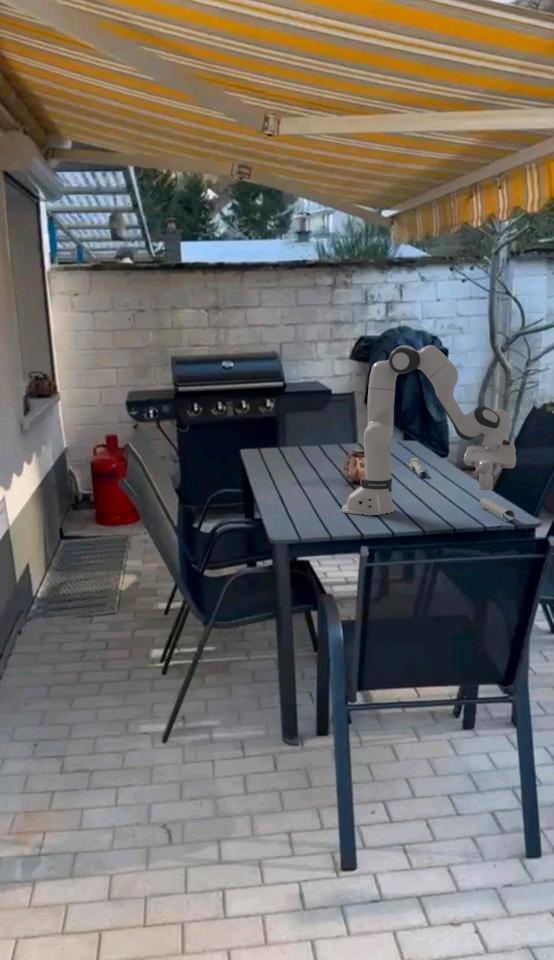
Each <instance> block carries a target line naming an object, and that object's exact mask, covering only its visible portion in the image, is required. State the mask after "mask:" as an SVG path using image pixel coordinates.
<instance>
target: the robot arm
mask: <svg viewBox="0 0 554 960" xmlns="http://www.w3.org/2000/svg"><path fill="white" fill-rule="evenodd" d="M414 370H419V371H421V372H422V373H423V374H424V375H425V376H426V377H427V379H428V381H430V383H431V384H432V386H433V388H434V393H435V394H434V395H435V396H436V397H435V398H436V399H437V401H438V403H439V405H440V406H441V407H442V409H443V411H444V413H445V414H446V416H447V417H448V419H449V420H450V422H451V423H452V426H453V428H454V430H455V433H456V434H457V436H458V437H459V438H460V439H462V440H463V441H464V440H465V441H473V440H474V439H476V437H478V436H480V434H483V440H482V442H481V443H482V444H471V445H469V446H467V447H466V450H465V453H464V457H463V463H464V464H465V465H466V466H470V467H471V466H472V467H475V476H476V475H478V476H479V472H478V470H477V467H478V465H479V461H482V460H485V461H493V468H495V469H493V471H492V476H493V477H497V474H498V473H499V472H500V471H501V470H502V469H514V468H515V467H516V464H517V463H516V462H517V455H516V453H517V450H516V446H515V444H514V442H513V441H511V440H507V436H508V435H509V431H510V427H511V416H510V414H509V413H508V412H507V411H505V410H504V409H501V408H500V409H499V408H495V409H492V408H489V407H487V406H485V405H480V406H477V407H475V408H474V409H472V410H471V411H470V412H468V413H467V414H465V413H464V412H463V411H462V409H461V408H460V406H459V404H458V403H457V401H456V400H455V396H454V391H455V389H456V385H457V384H458V380H459V372H458V370H457V368H456V366H455V365H454V364H453V363H452V362H451V361H450V359H449V358H448V357H447V356H446V355H445V354H444V352H442V351H441V350H440V349H439V348H438V347H436V346H435V345H433V344H429V345H426V346H424V347H422V348H420V349H419V350H417V349H416V348H415V347H414V346H412V345H410V344H403V345H399V346H397V347H395V348H394V349H393V350H392V351H391V353H390V354H389V357H388V359H386V360H379V361H376V362H374V364H373V365H372V367H371V371H370V373H369V381H368V391H367V392H368V393H367V403H366V406H367V408H366V409H367V426H366V428H365V429H364V432H363V449H364V450H363V452H364V453H363V454H364V476H361V477H360V482H359V484H360V485H359V487H358V488H356V489H355V490H353V491H352V492H351V493H350V494H349V495H348V497H347V500H346V503H344V505H342V507H341V512H343V514H355V515H362V514H364V516H372V515H378V516H381V515H386V513H388V514H392V513H394V512H395V508H394V504H393V496H392V491H393V478H392V453H391V439H392V437H393V434H394V419H395V417H394V416H395V415H394V414H395V413H394V412H395V411H394V410H395V408H394V407H395V394H396V381H397V377H398V375H403V374H408V373H410V372H412V371H414ZM391 512H392V513H391ZM380 514H381V515H380Z"/></svg>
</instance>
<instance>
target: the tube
mask: <svg viewBox="0 0 554 960" xmlns="http://www.w3.org/2000/svg"><path fill="white" fill-rule="evenodd" d="M479 506H480V507H481V506H482V507H484V508H485V509H487V510H489V511H491V512H492V513H494V514H496V515H498V516H500V517H502V518H503V519H504V513H506V514H507V515H509V516H511V517H513V518H515V511H513V509H510V508H508V507H507V506H504V505H502V504H500V503H499V502H496V501H494V500H493V499H491V498H489V497H482V498H481V499H480V500H479ZM485 509H484V510H485ZM487 510H486V511H487ZM492 513H491V514H492Z"/></svg>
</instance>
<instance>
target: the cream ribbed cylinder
mask: <svg viewBox="0 0 554 960" xmlns="http://www.w3.org/2000/svg"><path fill="white" fill-rule="evenodd" d="M409 469H410V470H412V471H416V475H417V476H418V477H419V478H420V479H426V478H427V476H428V472H427V470H425V468H423V466H422V465H421V464H420V463H419V458H417V457H412V458H411V459H410V462H409Z"/></svg>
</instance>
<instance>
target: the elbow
mask: <svg viewBox="0 0 554 960" xmlns="http://www.w3.org/2000/svg"><path fill="white" fill-rule="evenodd" d="M477 470H478V472H479V475H478V478H479V479H478V490H480V491H492V490H494V485H493V484H494V482H493V481H494V479H493V478H494V476H492V471H493V470H494V467H493V461H485V460H482V461H479V465H478V467H477Z"/></svg>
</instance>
